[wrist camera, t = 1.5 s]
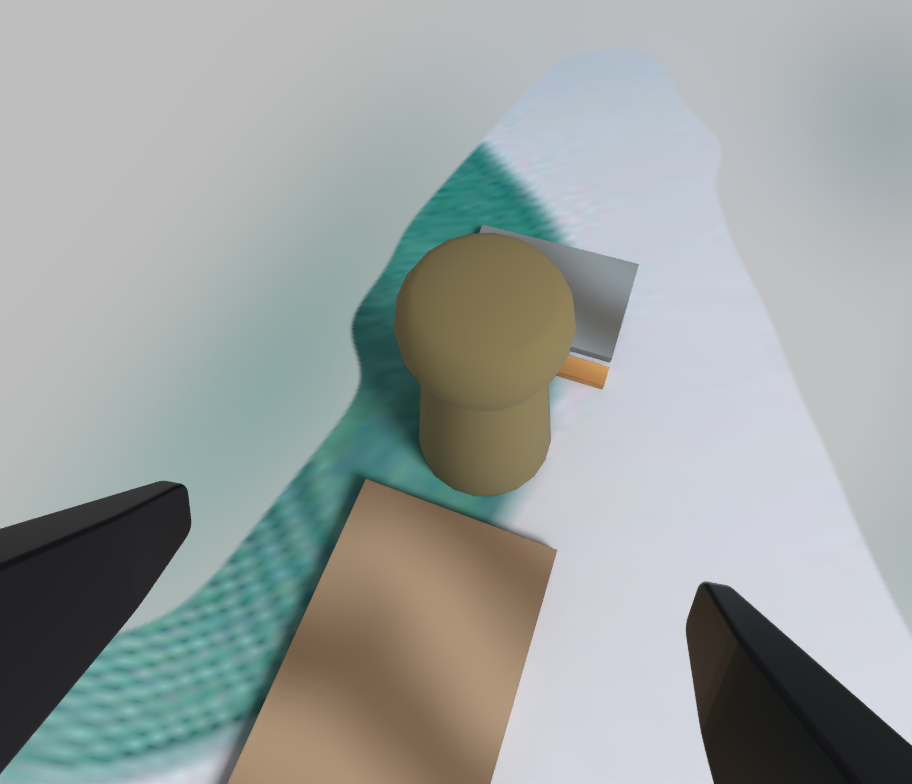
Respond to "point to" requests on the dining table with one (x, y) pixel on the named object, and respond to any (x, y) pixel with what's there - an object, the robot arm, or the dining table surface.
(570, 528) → the dining table surface
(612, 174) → the dining table surface
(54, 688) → the robot arm
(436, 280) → the cork
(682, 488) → the dining table surface
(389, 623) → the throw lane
